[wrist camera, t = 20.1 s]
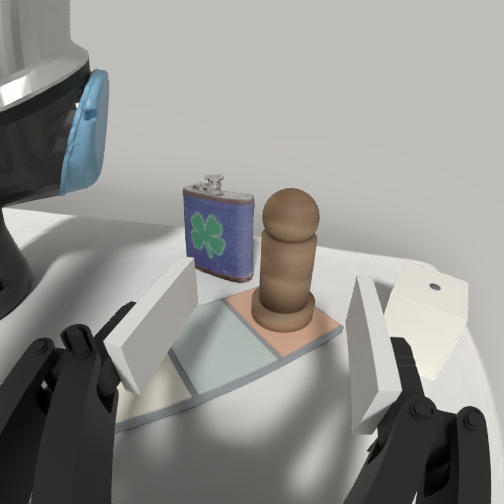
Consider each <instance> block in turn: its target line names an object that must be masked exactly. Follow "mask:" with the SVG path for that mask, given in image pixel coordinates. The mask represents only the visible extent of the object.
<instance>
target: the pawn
mask: <svg viewBox="0 0 504 504" xmlns="http://www.w3.org/2000/svg"><path fill="white" fill-rule="evenodd" d="M319 219H320V217H319V209H318V206H317V204H316V202H315V201H314V199H313V198H312V197H311V196H310V195H309V194H307V193H305V192H304V191H302V190H299V189H295V188H287V189H283V190H280V191H278V192H276V193H274V194H273V195H272V196H271V197H270V198H269V199H268V201H267V202H266V204H265V206H264V209H263V224H264V227H265V230H263V232H262V241H261V265H260V286H259V287H258V288H257V289H255V291H254V292H253V294H252V302H251V314H252V317H253V319H254V320H255V322H256V323H257V324H259V325H260V326H261V327H263V328H265V329H267V330H270V331H274V332H280V333H289V332H295V331H298V330H301V329H303V328H305V327H306V326H307V325H308V324H309V323H310V322H311V320H312V316H313V311H314V306H315V298H314V296H313V294H312V293H311V292H310V285H311V279H312V272H313V265H314V259H315V251H316V243H317V236H316V235H315V232H316V230H317V228H318V225H319Z"/></svg>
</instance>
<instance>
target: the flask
mask: <svg viewBox="0 0 504 504" xmlns="http://www.w3.org/2000/svg"><path fill="white" fill-rule="evenodd" d="M208 176H209V177H208ZM204 178H205V179H206V180H207V179H208V181H209V183H205V184H202V182H200V183H198V184H193V185H191V186H186V187H185V188H184V189H183V196H184V219H185V240H186V253H187V257H192V258H194V263H195V268H197V269H198V270H200V271H203V272H205V273H210V274H211V275H213V276H216V277H219V278H222V279H225V280H228V281H231V282H238V283H244V282H248V281H249V280H248V279H247V278H250V279H251V278H252V275H253V215H254V207H255V203H254V197H253V195H249V194H241V193H234V192H227V191H221V190H220V187H221V183H220V181H221V180H223V178H224V177H223V176H222V175H218V176H216V175H212V174H209V175H207V174H206V175H204Z"/></svg>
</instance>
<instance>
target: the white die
mask: <svg viewBox="0 0 504 504" xmlns="http://www.w3.org/2000/svg"><path fill="white" fill-rule="evenodd" d="M384 318H385V321H386V325H387V329H388V332H389V336H390V337H404V339H405V340H406V341H407V342H408V344H409V345H410V346H411V349H412V352H413V358H414V359H415V362H416V366H417V369H418V373H419V375H420V376H422V377H425V378H427V379H430V380H432V381H434V379H435V378H436V376H437V375H438V373H439V371H440V370H441V368H442V366H443V365H444V363H445V362H446V360H447V358H448V356H449V355H450V353H451V351H452V349H453V348H454V346H455V344H456V342H457V340H458V338H459V336H460V335H461V333H462V331H463V329H464V327H465V325H466V323H467V320H468V282H465V281H462V280H460V279H457V278H454V277H451V276H449V275H446V274H443V273H441V272H438V271H435V270H432V269H430V268H427V267H424V266H421V265H418V264H415V263H412V262H410V261H407V263H406V265H405V267H404V269H403V271H402V273H401V275H400V277H399V279H398V280H397V282H396V284H395V286H394V288H393V290H392V291H391V294H390V298H389V301H388V304H387V307H386V310H385V313H384Z"/></svg>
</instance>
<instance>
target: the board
mask: <svg viewBox="0 0 504 504" xmlns="http://www.w3.org/2000/svg"><path fill="white" fill-rule="evenodd" d="M257 288H258V287H256V288H253V289H250V290H247V291H244V292H241V293H238V294H235V295H232V296H229V297H226V298H223V299H220V300H217V301H213V302H210V303H207V304H204V305H201V306H198V307H195V309H194V310H193V312H192V314H191V315H190V317H189V318H188V320H187V322H186V323H185V325H184V326H183V328H182V330H181V331H180V333H179V335H178V336H177V338H176V339H175V341H174V343H173V344H172V346H171V348H170V349H169V351H168V352H167V354H166V356H165V357H164V359H163V361H162V362H161V364H160V366H159V367H158V369H157V370H156V372H155V374H154V375H153V377H152V379H151V380H150V382H149V384H148V385H147V387H146V389H145V390H144V392H143V394H142V395H141V396H140V395H137V394H134V393H132V392H129V391H127V390H125V388H124V386H123V384H122V382H120V384H119V385H118V386H117V389H118V391H119V399H118V407H117V415H116V424H115V433H116V432H120V431H123V430H127V429H130V428H134V427H137V426H140V425H143V424H147V423H150V422H153V421H156V420H159V419H162V418H165V417H167V416H170V415H173V414H176V413H179V412H181V411H184V410H187V409H189V408H192V407H194V406H197V405H199V404H202V403H204V402H207V401H209V400H212V399H214V398H216V397H219V396H221V395H223V394H226V393H228V392H230V391H232V390H235V389H237V388H239V387H241V386H243V385H246V384H248V383H250V382H252V381H254V380H256V379H258V378H260V377H262V376H264V375H266V374H268V373H270V372H272V371H274V370H276V369H278V368H280V367H282V366H284V365H286V364H288V363H290V362H292V361H293V360H295V359H297V358H299V357H301V356H303V355H304V354H306V353H308V352H310V351H311V350H313V349H315V348H317V347H318V346H320V345H322V344H324V343H325V342H327V341H329V340H330V339H332V338H334V337H335V336H337V335H339V334H340V333H342V331H343V328H344V327H343V326H342V325H340V324H339V323H338V322H336V321H335V320H333V319H332V318H331V317H329V316H328V315H326V314H325V313H324V312H322V311H321V310H319V309H318V308H317V307H315V306H314V311H313V316H312V320H311V322H310V323H309V324H308V325H307V326H306V327H305V328H303V329H301V330H298V331H295V332H289V333H280V332H274V331H270V330H267V329H265V328H263V327H261V326H260V325H259V324H257V323H256V322H255V320H254V319H253V317H252V314H251V302H252V294H253V292H254V291H255V289H257ZM93 338H94V337H93Z"/></svg>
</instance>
